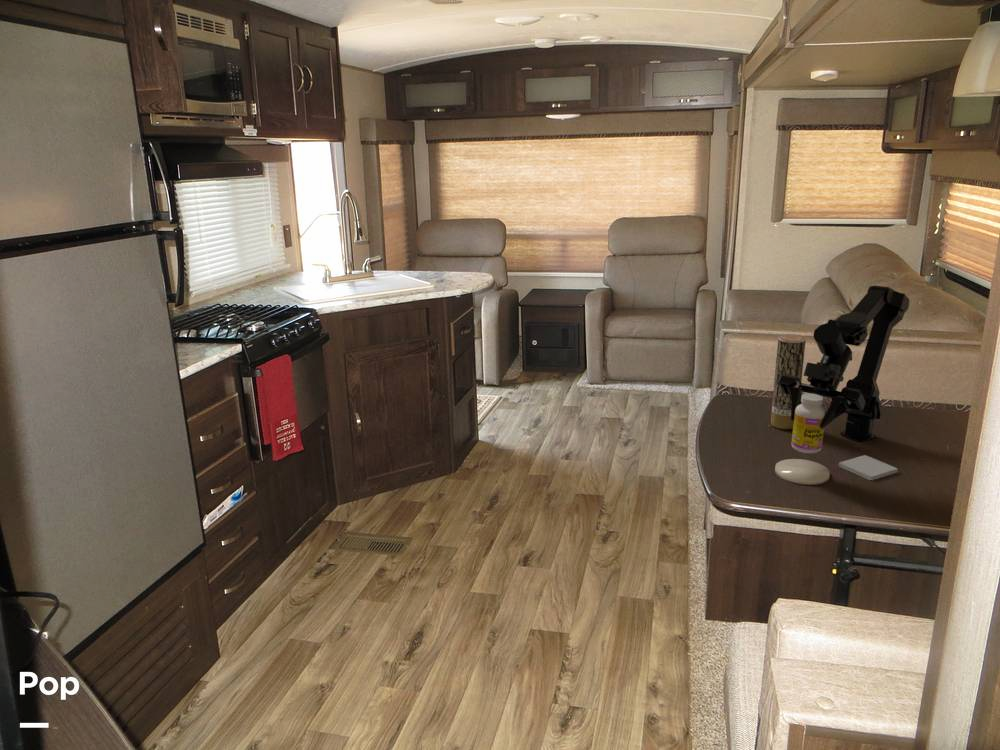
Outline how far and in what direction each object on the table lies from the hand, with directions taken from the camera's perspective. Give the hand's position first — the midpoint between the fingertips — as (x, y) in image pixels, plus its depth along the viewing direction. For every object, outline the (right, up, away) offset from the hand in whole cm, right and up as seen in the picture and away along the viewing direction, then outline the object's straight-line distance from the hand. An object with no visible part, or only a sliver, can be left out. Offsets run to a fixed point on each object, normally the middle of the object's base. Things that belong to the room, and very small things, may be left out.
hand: (806, 423), depth 174 cm
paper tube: (+7, -3, +34) cm, 35 cm away
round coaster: (+1, -12, +5) cm, 13 cm away
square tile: (+17, -11, +6) cm, 21 cm away
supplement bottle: (+1, -6, +3) cm, 7 cm away
